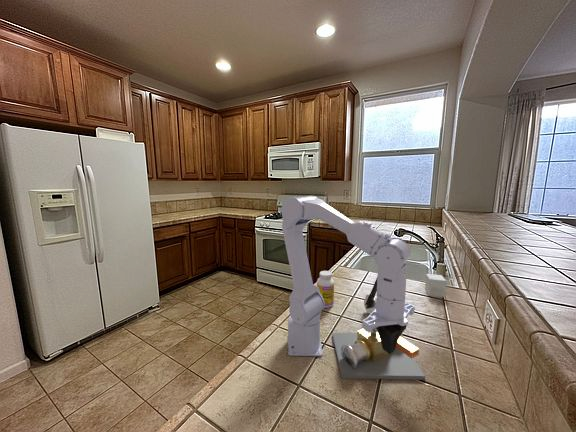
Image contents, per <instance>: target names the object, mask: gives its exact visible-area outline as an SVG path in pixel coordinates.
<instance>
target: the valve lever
mask: <svg viewBox="0 0 576 432" xmlns="http://www.w3.org/2000/svg"><path fill="white" fill-rule="evenodd" d="M372 331H377V329H376V328H374V329H372ZM377 332H378V331H377ZM396 348H397V349H399V350H400V351H401V352H403V353H404V354H406V355H407V356H409V357H410V358H411V359H412V358H414V359H415V358H416V357H418V356H419V351H420V348H419V347H418V346H415V345H414V344H412V343H411V342H409V341H408V340H406V339H405V338H404V339H403V338H402V337H400V338H399V340H398V342H397V345H396Z"/></svg>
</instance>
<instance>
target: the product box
mask: <svg viewBox="0 0 576 432" xmlns="http://www.w3.org/2000/svg"><path fill="white" fill-rule="evenodd" d="M424 285H425V287H424V290H425V292H426V294H427V295H428V296H429V297H430V296H431V297H438V298H446V288H447V287H446V286H447V280H446V278H444V276H443V275H441V274H431V273H426V274H425V284H424Z"/></svg>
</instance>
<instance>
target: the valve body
mask: <svg viewBox="0 0 576 432" xmlns="http://www.w3.org/2000/svg"><path fill="white" fill-rule="evenodd" d="M356 333H357V341H355V343H354V345H351V346H350V345H348V344H345V345H343V346H342V347H341V354H342V358H343V359H344V360H345V361H346V362H347V363H348V364H349V365H350V366H351V367H352V368H353V369H354V368H356V367H357V366H358V362H360V361H362V360H364V361H367V360H369V359H370V360H371V361H372V362H373V363H374V362H376V361H378V360H380V359H382V358H384V357H386V356H388V355H389V353H387V352H386V351H385V350H383V348H382V344H381V340H380V336H379V334H378V332H377V331H372V332H371V333H368V332H366V331H365V330H364V329H362V328H361V329H359V330H358V329H357V331H356ZM400 337H402V338H403V339H405V338H404V334H403V333H402V334H401V336H400Z"/></svg>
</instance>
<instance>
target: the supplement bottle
mask: <svg viewBox="0 0 576 432" xmlns="http://www.w3.org/2000/svg"><path fill="white" fill-rule="evenodd" d="M332 277H333V273H332V272H331V271H329V270H321V271H320V272H319V277H318V278H317V280H316V286H317V287H319V291H320V294H321V295H322V297H323V299H324V302H325V306H324V308H326V309H327V308H328V309H329V308H331V307H333V306H334V304H335V281H334V279H333V278H332Z"/></svg>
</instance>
